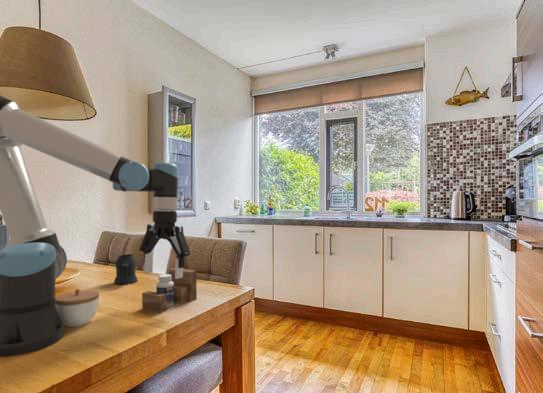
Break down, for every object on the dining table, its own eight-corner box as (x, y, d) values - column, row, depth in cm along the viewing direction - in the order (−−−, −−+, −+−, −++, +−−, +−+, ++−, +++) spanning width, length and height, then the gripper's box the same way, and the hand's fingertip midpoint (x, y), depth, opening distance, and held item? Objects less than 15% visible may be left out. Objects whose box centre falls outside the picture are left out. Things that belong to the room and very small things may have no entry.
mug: (114, 280, 136) (114, 254, 136) (137, 278, 139) (137, 253, 139) (112, 287, 124) (112, 259, 125) (137, 285, 128) (137, 257, 128)
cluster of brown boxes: (162, 313, 96) (162, 280, 96) (140, 308, 101) (140, 276, 101) (196, 299, 110) (196, 270, 110) (175, 295, 114) (174, 267, 114)
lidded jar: (104, 322, 89) (104, 289, 89) (59, 334, 82) (59, 297, 82) (92, 313, 97) (92, 282, 97) (50, 323, 89) (50, 289, 89)
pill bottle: (168, 308, 100) (168, 277, 100) (153, 307, 101) (153, 277, 102) (176, 303, 106) (176, 273, 106) (162, 302, 107) (162, 273, 107)
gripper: (202, 211, 102) (200, 277, 101) (147, 209, 113) (145, 268, 113) (186, 211, 95) (184, 282, 94) (129, 209, 106) (127, 272, 106)
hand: (163, 275), depth 103 cm, fingers open, 13 cm apart
